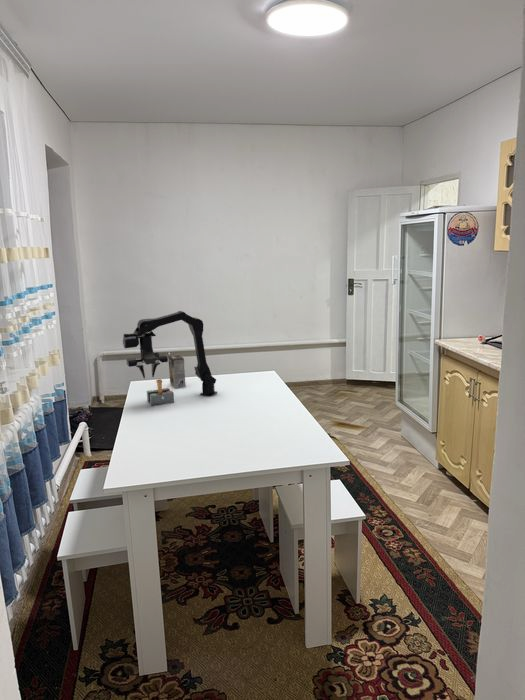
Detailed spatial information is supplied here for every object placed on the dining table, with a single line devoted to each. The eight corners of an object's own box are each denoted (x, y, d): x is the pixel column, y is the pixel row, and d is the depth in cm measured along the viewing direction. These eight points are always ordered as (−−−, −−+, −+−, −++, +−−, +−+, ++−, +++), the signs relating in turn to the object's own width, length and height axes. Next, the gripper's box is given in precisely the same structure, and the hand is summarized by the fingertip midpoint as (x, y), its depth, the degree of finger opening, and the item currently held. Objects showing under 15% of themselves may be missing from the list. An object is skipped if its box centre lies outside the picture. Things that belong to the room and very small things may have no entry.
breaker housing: (169, 397, 264) (168, 387, 263) (174, 402, 256) (173, 392, 255) (147, 400, 260) (146, 390, 259) (152, 406, 251) (151, 395, 250)
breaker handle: (161, 394, 259) (160, 379, 257) (163, 396, 257) (161, 380, 255) (157, 395, 258) (156, 379, 256) (158, 396, 256) (157, 381, 254)
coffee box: (169, 384, 287) (167, 356, 284) (181, 383, 290) (179, 354, 286) (174, 388, 279) (172, 359, 276) (186, 387, 282) (184, 357, 278)
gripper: (129, 351, 239) (132, 384, 242) (169, 346, 246) (172, 378, 250) (125, 347, 248) (127, 378, 252) (163, 342, 256) (165, 373, 259)
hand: (148, 377), depth 253 cm, fingers open, 4 cm apart
